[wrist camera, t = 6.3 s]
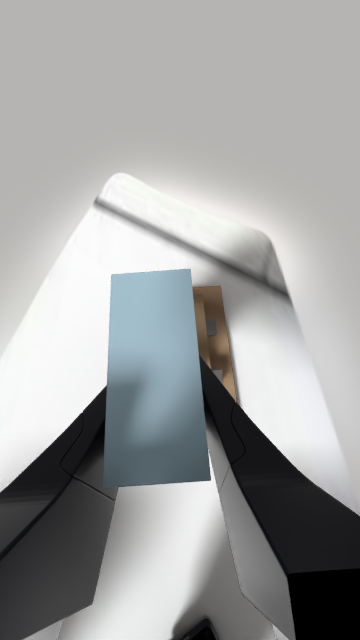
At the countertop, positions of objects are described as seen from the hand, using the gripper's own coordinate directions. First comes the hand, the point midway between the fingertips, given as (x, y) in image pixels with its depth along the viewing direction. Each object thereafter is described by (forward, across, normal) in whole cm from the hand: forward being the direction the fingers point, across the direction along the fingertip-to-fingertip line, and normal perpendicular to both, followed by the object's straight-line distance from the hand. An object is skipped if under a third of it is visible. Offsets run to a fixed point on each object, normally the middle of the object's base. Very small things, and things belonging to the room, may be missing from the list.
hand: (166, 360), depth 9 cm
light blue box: (+5, 0, +5) cm, 7 cm away
